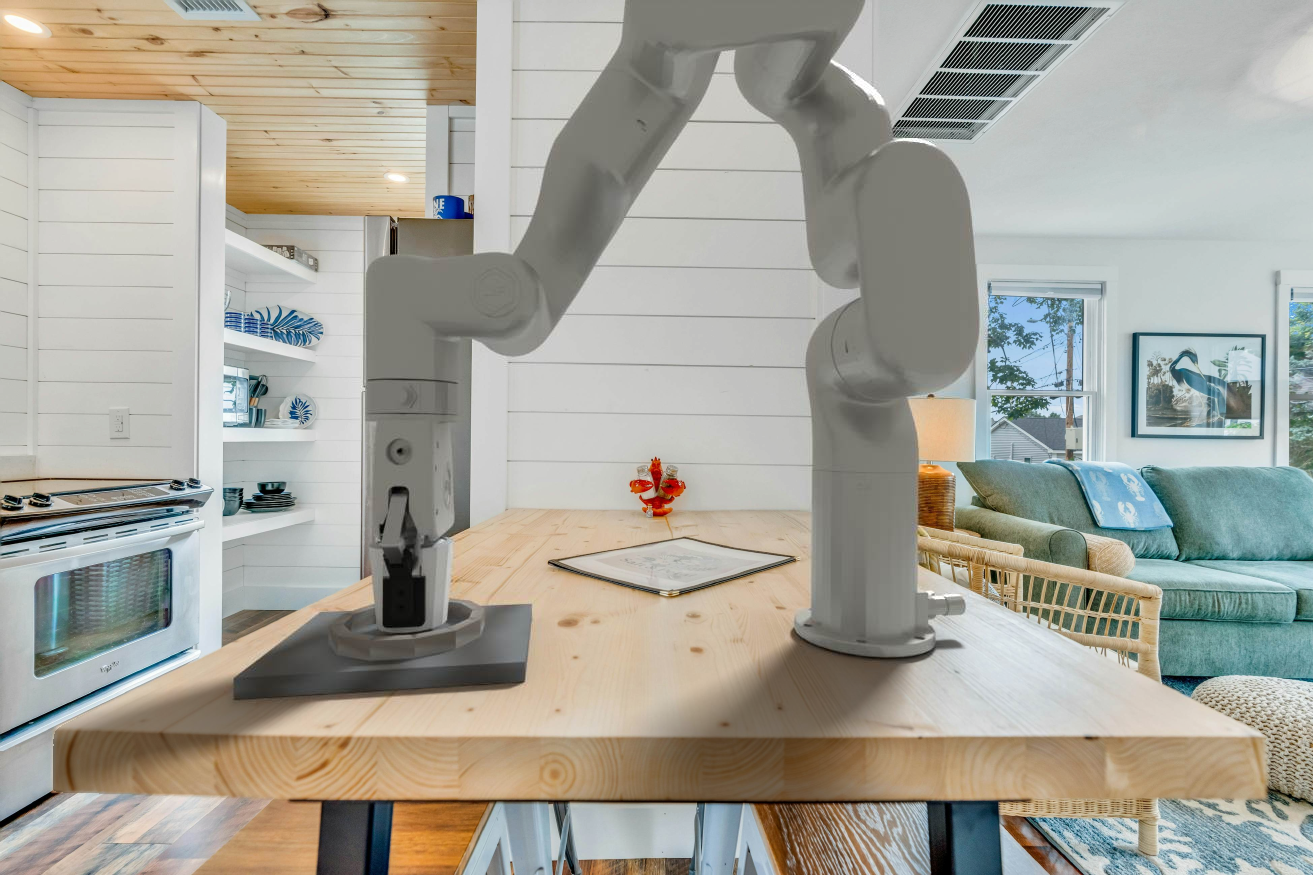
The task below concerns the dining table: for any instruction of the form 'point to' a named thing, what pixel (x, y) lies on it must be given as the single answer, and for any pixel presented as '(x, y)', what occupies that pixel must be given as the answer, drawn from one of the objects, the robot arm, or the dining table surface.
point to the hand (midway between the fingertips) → (413, 612)
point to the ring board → (393, 653)
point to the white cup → (433, 567)
